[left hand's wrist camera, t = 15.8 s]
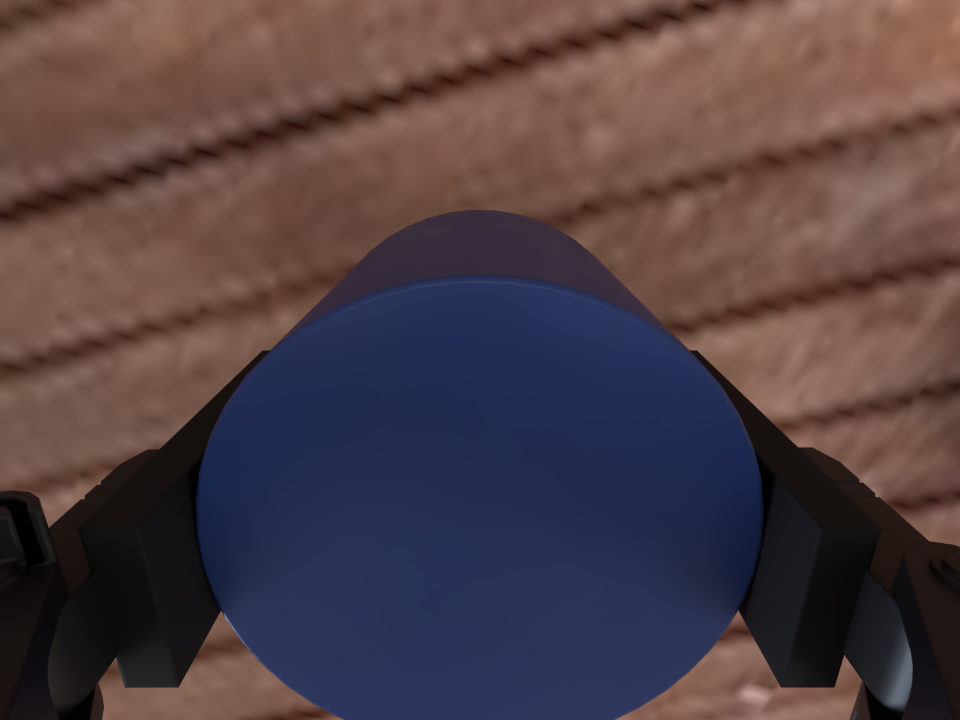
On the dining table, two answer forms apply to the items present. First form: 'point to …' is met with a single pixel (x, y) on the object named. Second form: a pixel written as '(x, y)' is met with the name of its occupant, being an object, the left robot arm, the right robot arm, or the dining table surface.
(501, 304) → the blue cylinder
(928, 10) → the dining table surface
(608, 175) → the dining table surface
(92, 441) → the dining table surface
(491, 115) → the dining table surface
